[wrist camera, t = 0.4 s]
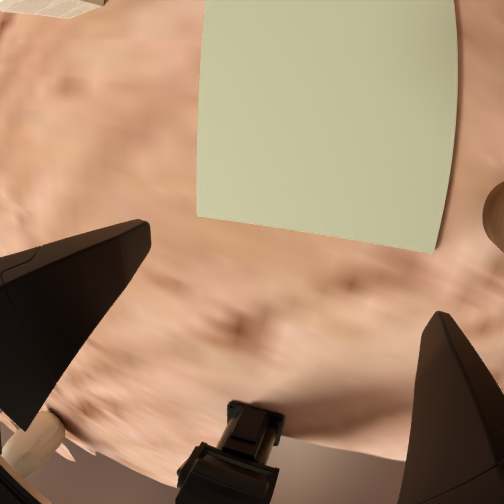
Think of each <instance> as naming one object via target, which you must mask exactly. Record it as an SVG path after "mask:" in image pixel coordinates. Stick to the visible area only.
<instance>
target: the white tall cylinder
mask: <svg viewBox="0 0 504 504" xmlns="http://www.w3.org/2000/svg"><path fill="white" fill-rule="evenodd" d="M64 437H65V428H64V425H63V423H62V422H61V420H60V419H59V418H58V417H57V416H56V415H54V414H53V413H51V412H47V411H42V412H38V413H37V415H36V417H35V418H34V420H33V421H32V423H31V425H30V426H29V428H28V429H27V431H26V432H24V431H23V430H22V429H21V428H20V429H19V430H18V431H17V432H16V433H15V434H14V435H13V436H12V437H11V438H10V439H9V440H8V441H7V443H6V444H5V446H4V447H3V449H2V454H1V456H2V457H3V458H4V460H5V461H6V462H7V463H8V464H9V465H10V466H11V467H12V468H13V469H14V470H15V471H16V472H17V473H18V474H19V475H20V476H22V477H23V478H24V479H26V478H28V477H29V476H31V475H33V474H34V473H35V472H37V471H38V470H39V469H40V468H41V467H42V466H43V464H44V463H45V462H46V461H47V460H48V459H49V457H50V456H51V455H52V454H53V453H54V452H55V450H56V449H57V448H58V447H59V446H60V445H61V443H62V441H63V440H64Z"/></svg>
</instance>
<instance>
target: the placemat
mask: <svg viewBox="0 0 504 504" xmlns="http://www.w3.org/2000/svg"><path fill="white" fill-rule="evenodd" d="M457 93H458V48H457V29H456V17H455V7H454V0H206V1H205V12H204V23H203V36H202V49H201V64H200V82H199V103H198V131H197V216H199V217H207V218H214V219H221V220H228V221H235V222H242V223H249V224H256V225H262V226H269V227H276V228H282V229H289V230H295V231H301V232H308V233H314V234H320V235H326V236H332V237H338V238H344V239H350V240H356V241H362V242H368V243H374V244H379V245H385V246H390V247H396V248H402V249H407V250H413V251H418V252H423V253H429V254H433V253H434V249H435V245H436V241H437V237H438V233H439V228H440V224H441V219H442V215H443V210H444V205H445V199H446V194H447V188H448V182H449V176H450V170H451V162H452V155H453V146H454V137H455V126H456V113H457Z"/></svg>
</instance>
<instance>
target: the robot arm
mask: <svg viewBox="0 0 504 504" xmlns="http://www.w3.org/2000/svg"><path fill="white" fill-rule="evenodd" d="M150 248H151V232H150V224H149V223H148V222H147V221H143V220H140V219H135V220H131V221H127V222H123V223H120V224H116V225H112V226H108V227H105V228H101V229H97V230H93V231H90V232H86V233H83V234H79V235H76V236H72V237H69V238H65V239H62V240H58V241H55V242H52V243H48V244H45V245H42V247H41V246H38V247H35V248H32V249H29V250H25V251H22V252H19V253H15V254H11V255H7V256H4V257H0V413H1V412H2V411H3V412H4V413H5V414H6V415H7V416H8V417H9V418H10V419H11V420H12V421H13V422H15V423H16V424H17V425H18V426H19V427H20V428H21V429H22V430H23V431H24V432H26V431H27V429H28V428H29V426H30V425H31V423H32V421H33V420H34V418H35V417H36V415H37V413H38V412H39V410H40V409H41V407H42V405H43V404H44V402H45V401H46V399H47V398H48V396H49V394H50V393H51V391H52V390H53V388H54V387H55V385H56V383H57V382H58V381H59V379H60V378H61V376H62V375H63V373H64V372H65V370H66V369H67V367H68V366H69V364H70V363H71V361H72V360H73V358H74V357H75V356H76V354H77V353H78V351H79V350H80V349H81V347H82V346H83V344H84V343H85V341H86V340H87V339H88V337H89V336H90V335H91V333H92V332H93V330H94V329H95V328H96V326H97V325H98V324H99V322H100V321H101V320H102V318H103V317H104V316H105V314H106V313H107V312H108V310H109V309H110V308H111V306H112V305H113V304H114V302H115V301H116V300H117V298H118V297H119V296H120V295H121V293H122V292H123V291H124V289H125V288H126V287H127V285H128V284H129V282H130V281H131V279H132V277H133V276H134V274H135V273H136V271H137V270H138V268H139V266H140V265H141V263H142V262H143V260H144V259H145V257H146V256H147V254H148V253H149V251H150ZM284 419H285V417H284V416H283V415H281V414H277V413H273V412H269V411H265V410H261V409H257V408H253V407H249V406H246V405H242V404H238V403H235V402H229V403H228V405H227V427H226V429H225V431H224V433H223V435H222V437H221V439H220V441H219V443H218V445H217V447H216V448H215V447H213V446H210V445H208V444H207V443H205V442H202V443H201V444H200V446H196V447H195V448H194V450H193V452H192V454H191V455H190V457H189V458H188V459H187V460H186V461H185V462H184V463H183V465H182V466H181V467H180V468H179V469H178V470H177V475H178V477H179V478H178V484H177V488H179V489H180V491H179V493H178V496H177V497H176V500H175V503H176V504H269V503H270V501H271V498H272V495H273V491H274V488H275V484H276V481H277V477H278V473H279V468H273V467H270V466H266V464H267V461H268V458H269V455H270V452H271V450H272V447H273V446H278V444H279V441H280V436H281V432H282V428H283V423H284ZM1 454H2V447H1V433H0V504H52V503H51V502H50V501H49V500H48V499H46V498H45V497H44V496H43V495H42V494H40V493H39V492H38V491H37V490H36V489H35V488H33V487H32V486H31V485H30V484H29V483H28V482H27V481H26V480H25V479H24V478H23V477H22V476H20V475H19V474H18V473H17V472H16V471H15V470H14V469H13V468H12V467H11V466H10V465H9V464H8V463H7V462H6V461H5V460H4V458H3V457H2V456H1ZM397 504H504V394H503V393H502V391H501V389H500V388H499V386H498V384H497V383H496V381H495V380H494V378H493V376H492V375H491V373H490V372H489V370H488V369H487V367H486V366H485V364H484V362H483V361H482V359H481V358H480V356H479V355H478V353H477V352H476V351H475V349H474V348H473V346H472V345H471V343H470V342H469V340H468V339H467V338H466V336H465V335H464V333H463V332H462V331H461V329H460V328H459V326H458V325H457V324H456V322H455V321H454V320H453V318H452V317H451V315H450V314H448V313H445V312H442V311H436V312H435V313H434V315H433V316H432V318H431V319H430V321H429V323H428V324H427V326H426V327H425V329H424V330H423V333H422V336H421V344H420V352H419V359H418V366H417V372H416V379H415V388H414V402H413V412H412V422H411V430H410V438H409V445H408V452H407V458H406V464H405V470H404V475H403V481H402V485H401V490H400V494H399V499H398V503H397Z"/></svg>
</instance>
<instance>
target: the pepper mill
mask: <svg viewBox="0 0 504 504" xmlns="http://www.w3.org/2000/svg"><path fill="white" fill-rule="evenodd" d="M483 225H484V229H485V232H486V234H487V236H488V237H489V239H490V240H491V241H492V242H493V243H494V244H495V245H496V246H497V247H498V248H499V249H500V250H501V251H502V252H503V253H504V182H503V183H501V184H499V185H497V186H496V187H495V188H494V189H493V190H492V191H491V192H490V194H489V195H488V197H487V199H486V201H485V204H484V208H483Z"/></svg>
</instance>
